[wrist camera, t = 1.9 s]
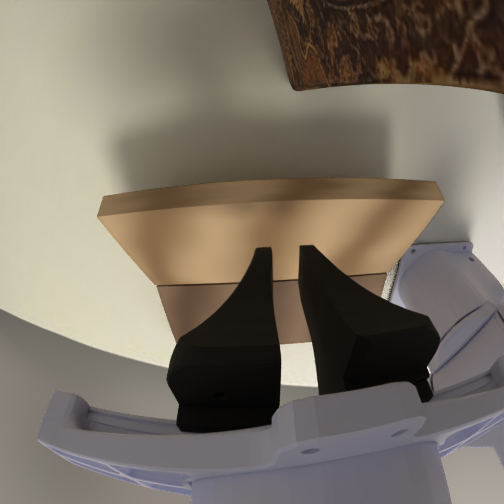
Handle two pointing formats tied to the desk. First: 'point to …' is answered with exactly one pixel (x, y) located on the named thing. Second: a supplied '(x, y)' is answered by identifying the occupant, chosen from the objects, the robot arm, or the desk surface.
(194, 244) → the oak plank
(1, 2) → the desk surface
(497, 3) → the book
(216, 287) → the walnut strip
